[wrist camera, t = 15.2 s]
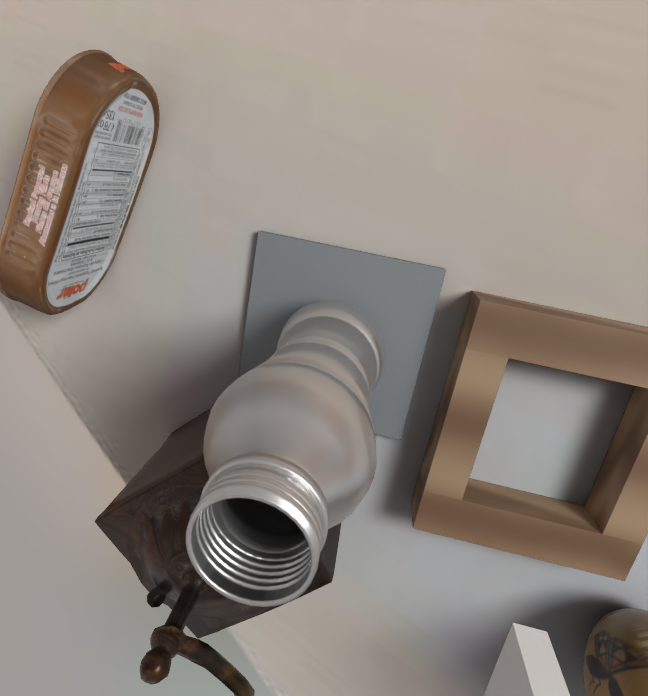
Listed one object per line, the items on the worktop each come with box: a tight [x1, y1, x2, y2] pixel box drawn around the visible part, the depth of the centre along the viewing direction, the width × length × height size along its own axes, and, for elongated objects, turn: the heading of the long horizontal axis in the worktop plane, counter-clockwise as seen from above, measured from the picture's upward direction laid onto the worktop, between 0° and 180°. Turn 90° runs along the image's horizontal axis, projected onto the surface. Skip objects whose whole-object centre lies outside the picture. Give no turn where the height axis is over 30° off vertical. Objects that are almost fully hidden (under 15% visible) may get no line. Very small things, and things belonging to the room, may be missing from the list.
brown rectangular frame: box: [411, 291, 648, 581], centre depth 30 cm, size 16×14×3 cm
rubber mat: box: [238, 231, 446, 440], centre depth 32 cm, size 12×12×1 cm
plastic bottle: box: [186, 300, 385, 607], centre depth 22 cm, size 6×7×20 cm
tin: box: [0, 50, 159, 315], centre depth 27 cm, size 15×3×8 cm, turn 152°
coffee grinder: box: [95, 408, 341, 696], centre depth 28 cm, size 16×11×18 cm
